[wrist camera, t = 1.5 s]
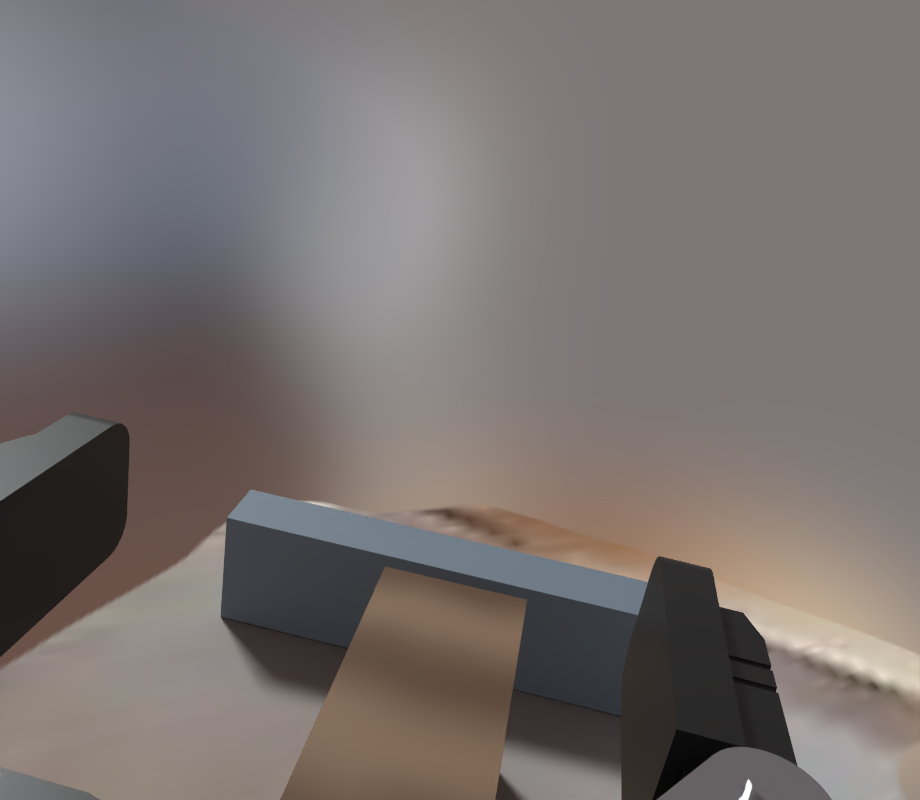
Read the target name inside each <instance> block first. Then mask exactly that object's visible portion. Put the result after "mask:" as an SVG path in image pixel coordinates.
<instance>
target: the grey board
mask: <svg viewBox="0 0 920 800" xmlns="http://www.w3.org/2000/svg"><path fill="white" fill-rule="evenodd" d="M385 567H390V568H394V569H398V570H403V571H407V572H411V573H415V574H420V575H424V576H428V577H432V578H437V579H441V580H445V581H449V582H454V583H458V584H462V585H466V586H471V587H475V588H479V589H483V590H488V591H492V592H496V593H500V594H505V595H509V596H513V597H518V598H522V599H526V600H527V603H526V609H525V616H524V622H523V628H522V635H521V641H520V647H519V654H518V660H517V666H516V672H515V679H514V685H513V689H514V690H518V691H522V692H526V693H530V694H534V695H538V696H542V697H546V698H550V699H554V700H558V701H562V702H566V703H570V704H574V705H578V706H582V707H586V708H590V709H594V710H598V711H602V712H606V713H610V714H614V715H618V716H621V687H622V677H623V670H624V664H625V659H626V655H627V651H628V647H629V643H630V640H631V637H632V633H633V630H634V627H635V624H636V620H637V617H638V614H639V610H640V607H641V604H642V601H643V597H644V594H645V591H646V587H647V584H648V582H645V581H641V580H637V579H632V578H628V577H624V576H619V575H615V574H611V573H607V572H602V571H598V570H594V569H589V568H585V567H581V566H576V565H572V564H568V563H564V562H559V561H555V560H551V559H546V558H542V557H538V556H534V555H529V554H525V553H521V552H516V551H512V550H508V549H504V548H499V547H495V546H491V545H486V544H482V543H478V542H473V541H469V540H465V539H461V538H456V537H452V536H448V535H443V534H439V533H435V532H431V531H426V530H422V529H418V528H413V527H409V526H405V525H400V524H396V523H392V522H388V521H383V520H379V519H375V518H370V517H366V516H362V515H358V514H353V513H349V512H345V511H340V510H336V509H332V508H328V507H323V506H319V505H315V504H310V503H306V502H302V501H297V500H293V499H289V498H285V497H280V496H276V495H272V494H267V493H263V492H259V491H254V490H250V491H249V492H248V494H247V495H246V496H245V497H244V498H243V499H242V501H241V502H240V503H239V504H238V505H237V506H236V508H235V509H234V510H233V511H232V512H231V513H230V515H229V516H228V517H227V524H226V540H225V556H224V572H223V588H222V604H221V617H224V618H228V619H232V620H236V621H240V622H244V623H248V624H252V625H256V626H260V627H265V628H269V629H273V630H277V631H281V632H285V633H289V634H293V635H297V636H301V637H305V638H309V639H313V640H317V641H321V642H325V643H329V644H333V645H337V646H341V647H345V648H349V646H350V643H351V641H352V639H353V637H354V635H355V632H356V630H357V628H358V626H359V623H360V621H361V619H362V617H363V615H364V612H365V610H366V608H367V606H368V603H369V601H370V599H371V597H372V594H373V592H374V590H375V588H376V586H377V583H378V581H379V579H380V577H381V574H382V572H383V570H384V568H385Z"/></svg>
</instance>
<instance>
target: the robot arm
mask: <svg viewBox="0 0 920 800" xmlns="http://www.w3.org/2000/svg"><path fill="white" fill-rule="evenodd" d="M128 468H129V433H128V430H127V428H126V427H125V426H124V425H123V424H121V423H116V422H112V421H108V420H104V419H100V418H96V417H92V416H87V415H83V414H79V413H71V414H69V415H67V416H65V417H64V418H62V419H60V420H59V421H57V422H55V423H54V424H52V425H51V426H48V427H47V428H45V429H44V430H42V431H40V432H39V433H37V434H35V435H29V436H25V437H22V438H18V439H15V440H11V441H8V442H5V443H1V444H0V657H1V656H2V655H3V654H4V653H5V652H6V651H7V650H8V649H10V648H11V647H12V646H13V645H14V644H15V643H16V642H17V641H18V640H19V639H20V638H21V637H22V636H24V634H26V633H27V632H28V631H29V630H30V629H31V628H32V627H33V626H34V625H36V623H38V622H39V621H40V620H41V619H42V618H43V617H44V616H45V615H46V614H47V613H48V612H49V611H51V610H52V609H53V608H54V607H55V606H56V605H57V604H58V603H59V602H60V601H61V600H63V599H64V597H66V596H67V595H68V594H69V593H70V592H71V591H72V590H73V589H74V588H75V587H77V586H78V585H79V584H80V583H81V582H82V581H83V580H84V579H85V578H86V577H87V576H88V575H90V574H91V573H92V572H93V571H94V570H95V569H96V568H97V567H98V566H99V565H100V564H102V563H103V562H104V561H105V560H106V559H107V558H108V557H109V556H110V555H111V554H112V552H113V551H114V550H115V548H116V547H117V545H118V543H119V541H120V539H121V537H122V534H123V531H124V528H125V524H126V518H127V497H128ZM770 668H771V663H770V659H769V656H768V652H767V648H766V644H765V640H764V638H763V637H762V636H761V635H760V633H759V632H758V631H757V630H756V628H755V627H754V626H753V625H752V623H751V622H750V621H749V620H748V618H747V617H746V616H745V615H744V613H742V612H738V611H734V610H730V609H726V608H722V607H719V603H718V598H717V592H716V587H715V582H714V577H713V572H712V570H711V569H710V568H706V567H701V566H697V565H693V564H689V563H685V562H681V561H677V560H673V559H669V558H665V557H661V556H659V557H658V558H657V559H656V561H655V563H654V566H653V568H652V571H651V574H650V578H649V581H648V584H647V587H646V591H645V594H644V597H643V601H642V604H641V607H640V610H639V614H638V617H637V620H636V624H635V627H634V630H633V633H632V637H631V640H630V643H629V647H628V651H627V655H626V659H625V664H624V670H623V677H622V687H621V758H622V800H831V798H830V797H829V795H828V794H827V793H826V791H825V790H824V789H823V788H822V787H821V785H820V784H818V783H817V782H816V781H815V780H814V779H813V778H812V777H811V776H810V775H809V774H807V773H806V772H805V771H803V770H802V769H801V768H799V767H798V766H797V763H796V759H795V755H794V751H793V748H792V744H791V740H790V736H789V732H788V728H787V725H786V721H785V717H784V713H783V709H782V705H781V702H780V698H779V694H778V693H776V689H777V686H776V682H775V679H774V675H773V671H771V670H770ZM0 800H99V799H98V798H96V797H94V796H93V795H91V794H89V793H87V792H83V791H80V790H77V789H73V788H70V787H66V786H63V785H59V784H56V783H52V782H49V781H46V780H42V779H39V778H35V777H32V776H28V775H25V774H21V773H18V772H15V771H11V770H8V769H4V768H1V767H0Z"/></svg>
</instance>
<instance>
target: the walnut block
mask: <svg viewBox="0 0 920 800" xmlns="http://www.w3.org/2000/svg"><path fill="white" fill-rule="evenodd" d="M526 603H527V600H526V599H522V598H518V597H513V596H509V595H505V594H500V593H496V592H492V591H488V590H483V589H479V588H475V587H471V586H466V585H462V584H458V583H454V582H449V581H445V580H441V579H437V578H432V577H428V576H424V575H420V574H415V573H411V572H407V571H403V570H398V569H394V568H390V567H385V568H384V570H383V572H382V574H381V577H380V579H379V581H378V583H377V586H376V588H375V590H374V592H373V594H372V597H371V599H370V601H369V603H368V606H367V608H366V610H365V612H364V615H363V617H362V619H361V621H360V623H359V626H358V628H357V630H356V632H355V635H354V637H353V639H352V641H351V643H350V646H349V648H348V650H347V652H346V655H345V657H344V659H343V661H342V664H341V666H340V668H339V670H338V672H337V675H336V677H335V679H334V681H333V684H332V686H331V688H330V690H329V693H328V695H327V697H326V699H325V701H324V704H323V706H322V708H321V710H320V713H319V715H318V717H317V719H316V721H315V724H314V726H313V728H312V730H311V733H310V735H309V737H308V739H307V742H306V744H305V746H304V748H303V750H302V753H301V755H300V757H299V759H298V762H297V764H296V766H295V768H294V771H293V773H292V775H291V777H290V779H289V782H288V784H287V786H286V788H285V791H284V793H283V795H282V797H281V799H280V800H495V798H496V792H497V786H498V780H499V773H500V767H501V761H502V754H503V748H504V742H505V735H506V729H507V723H508V717H509V710H510V704H511V698H512V691H513V685H514V679H515V672H516V666H517V660H518V654H519V647H520V641H521V635H522V628H523V622H524V616H525V609H526Z"/></svg>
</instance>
